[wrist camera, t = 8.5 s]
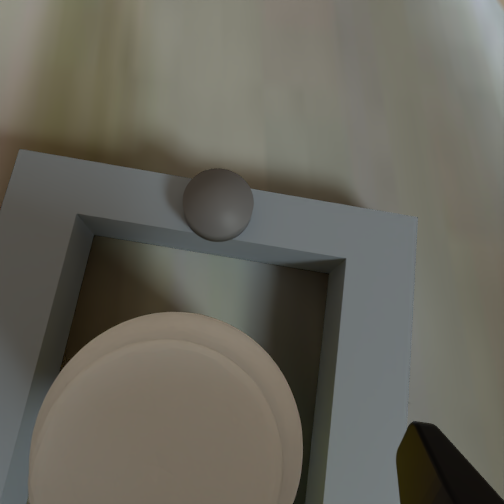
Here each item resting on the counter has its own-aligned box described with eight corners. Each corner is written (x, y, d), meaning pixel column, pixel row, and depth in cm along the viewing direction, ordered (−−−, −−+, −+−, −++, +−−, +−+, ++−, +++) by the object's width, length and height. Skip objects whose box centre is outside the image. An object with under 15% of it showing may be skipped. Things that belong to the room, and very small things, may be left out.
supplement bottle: (272, 352, 18) (355, 321, 8) (248, 512, 16) (313, 713, 7) (127, 327, 18) (30, 262, 8) (89, 487, 16) (-92, 657, 6)
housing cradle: (365, 628, 16) (405, 691, 13) (-72, 571, 15) (-147, 623, 12) (392, 232, 20) (428, 204, 16) (45, 173, 19) (11, 132, 16)
